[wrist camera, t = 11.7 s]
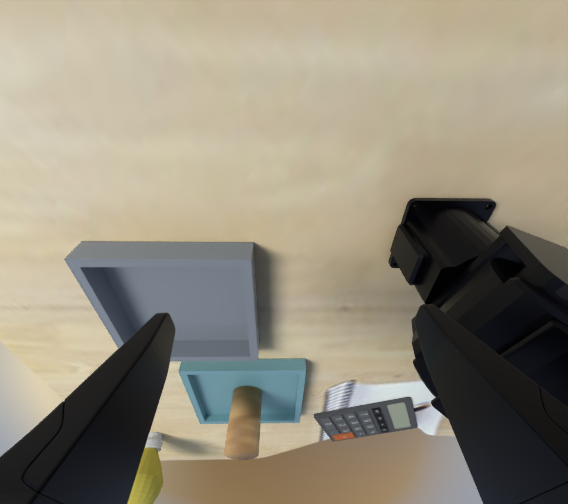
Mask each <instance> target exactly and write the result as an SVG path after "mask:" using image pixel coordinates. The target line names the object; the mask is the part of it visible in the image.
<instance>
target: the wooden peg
mask: <svg viewBox="0 0 568 504" xmlns="http://www.w3.org/2000/svg"><path fill="white" fill-rule="evenodd" d="M261 404H262V391H261V390H260V389H258V388H256V387H252V386H241V387H237V388H235V389H234V390H233V395H232V402H231V409H230V416H229V423H228V430H227V437H226V444H225V451H224V455H225V456H226V457H229V458H232V459H238V460H247V459H253V458H256V457H257V456H258V454H259V437H260V421H261Z"/></svg>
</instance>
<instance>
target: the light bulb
mask: <svg viewBox="0 0 568 504" xmlns="http://www.w3.org/2000/svg"><path fill="white" fill-rule="evenodd" d="M161 438H162V434H160V433H157V432H150V433H149V435H148V439H147V442H146V445H145V448H144V452H143V455H142V458H141V461H140V465H139V468H138V471H137V474H136V478H135V481H134V484H133V487H132V491H131V494H130V497H129V500H128V504H153V502H154V501H155V500H156V498H157V496H158V495H159V493H160V490H161V488H162V484H163V475H162V467H161V462H160V459H159V455H158V451H160V450H161V447H162V444H163V443H162V442H161Z"/></svg>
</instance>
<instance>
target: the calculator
mask: <svg viewBox="0 0 568 504" xmlns="http://www.w3.org/2000/svg"><path fill="white" fill-rule="evenodd" d="M314 418H315V419H316V421H317V422H318V423H319V425H320V426H321V427H322V428H323V430H324V431H325V432H326V434H327V435H328V436H329V437H330V439H331V440H332V441H339V440H345V439H351V438H358V437H364V436H370V435H376V434H382V433H388V432H394V431H400V430H406V429H412V428H417V423H416V419H415V414H414V410H413V405H412V401H411V398H410V397H405V398H399V399H394V400H388V401H383V402H377V403H372V404H366V405H361V406H355V407H350V408H344V409H339V410H333V411H328V412H322V413H317V414H314Z"/></svg>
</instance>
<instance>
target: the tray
mask: <svg viewBox="0 0 568 504" xmlns="http://www.w3.org/2000/svg"><path fill="white" fill-rule="evenodd" d="M179 374H180V376H181V379H182V381H183V383H184V386H185V388H186V391H187V393H188V396H189V398H190V400H191V403H192V405H193V408H194V410H195V413H196V415H197V417H198V420H199V422H200V424H224V423H229V416H230V409H231V402H232V395H233V390H234V389H235V388H237V387H241V386H252V387H256V388H258V389H260V390H261V391H262V404H261V421H260V423H300V415H301V407H302V400H303V392H304V384H305V377H306V361H305V359H258V361H182V362H181V365H180V368H179Z"/></svg>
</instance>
